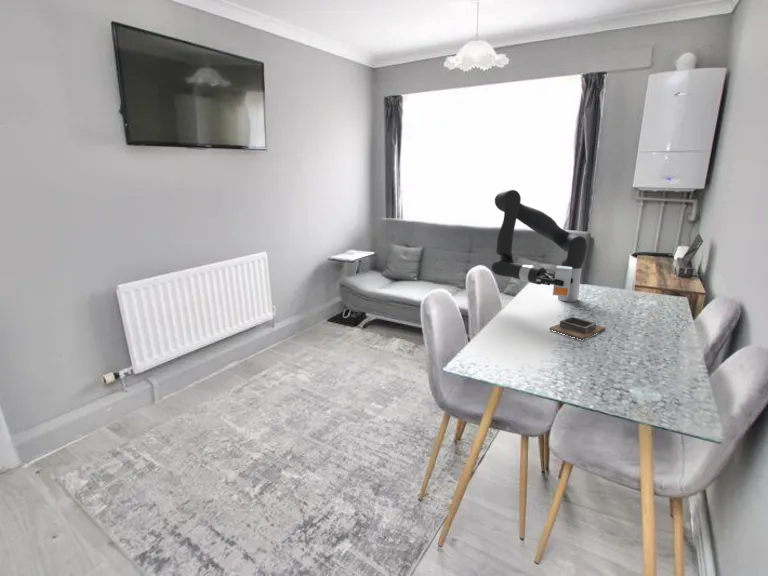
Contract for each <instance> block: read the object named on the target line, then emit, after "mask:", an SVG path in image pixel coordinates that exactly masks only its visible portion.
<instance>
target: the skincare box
mask: <svg viewBox="0 0 768 576" xmlns="http://www.w3.org/2000/svg"><path fill="white" fill-rule="evenodd" d="M571 274H572V267H567V266H561V265H556V266H555V279H558V280H562V281H564V286H558V285H553V288H552V296H557V297H558V296H564V297H568V295H569V289H570V281H571Z"/></svg>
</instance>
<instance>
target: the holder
mask: <svg viewBox="0 0 768 576" xmlns="http://www.w3.org/2000/svg"><path fill="white" fill-rule="evenodd" d="M549 329H550V330H553V331H556V332H559V333H562V334H565V335H568V336H571V337H575V338H578V339H581V340H583V339H585V338H588V337H590V336H592V335H594V334H596V333H598V334H600V333H602V332H604V331H603V330H605V331H606V327H605V326H602V325H598V324H597V323H596V322H592V321H589V320H585V319H581V318H578V317H575V316H568V317H567V318H564V319H561V320H560V321H559V323H557V324H555V325H552V326H550V327H549ZM549 329H548V330H549ZM601 331H602V332H601ZM556 332H555V333H556ZM599 332H600V333H599ZM559 333H558V334H559ZM562 334H561V335H562ZM565 335H564V336H565ZM596 335H597V334H596ZM568 336H567V337H568ZM594 336H595V335H594ZM571 337H570V338H571ZM592 337H593V336H592ZM590 338H591V337H590ZM588 339H589V338H588ZM585 340H586V339H585ZM583 341H584V340H583Z"/></svg>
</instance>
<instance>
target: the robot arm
mask: <svg viewBox="0 0 768 576" xmlns="http://www.w3.org/2000/svg"><path fill="white" fill-rule="evenodd" d="M521 199H522V197H521V194H520V192H518V191H517V190H515V189H509V190H505V191H501V192H499V193H498V194H496V196H495V197H494V204H495V206H496V208H497V209H498V210H499V211H501V212H503V214H504V215H503V220H502V224H501V227H500V229H499V231H498V235H497V241H496V249H495V250H496V254H497V255H498V256H500V259H498V260H495V261H493V263H492V264H491V271H492V272H493V274H494V275H496V276H501V277H509V278H513V279H516V280H521V281H524V282H527V283H530V284H535V285H545V286H554V285H558V286H564V281H562V280H558V279H555V272H556V271H555V272H549V271H548V272H547V270H546V268H544V267H540V266H536V265H531V264H530V265H529V264H523V263H520V262H519V263H516V262H515V263H514V259H513V258H514V257H513V252H512V251H513V242H514V233H515V232H514V231H515V227H516V223H517V221H519V222H520V223H522V224H524V225H525V226H527V227H529V228H530V229H531V230H533V231H534V232H535V233H537V234H539V235H540V236H543V237H544V238H546V239H548V240H550V241H551V242H553V243H554V244H556V245H557V246H558V247H560V248H561V250H563V251H564V252H565V253H567V256H566V258H565V259H563V260H562V261H561V265H560V266H567V267H572V274H571V281H570V289H569V295H568V297H564V296H557V299H558V300H559V301H562V302H567V303H568V302H569V303H575V302H577V301H578V300H579V295H580V294H579V293H580V287H581V285H580V284H581V274H582V266H583V264H584V262H585V259H586V257H585V256H586V253H587V247H588V245H587V243H588V242H587V240H586V238H585V237H584V236H581V235H578V234H574V233H570V232H568V231H566V230H565V229H563V228H562V227H560V226H559V225H558V224H557V222H556V221H555V220H554V219H553V218H552V217H551V216H549V215H548V214H547V213H545V212H544V211H541V210H539V209H536V208H533V207H531V206H526V205H524V204H523V203H521Z"/></svg>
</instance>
